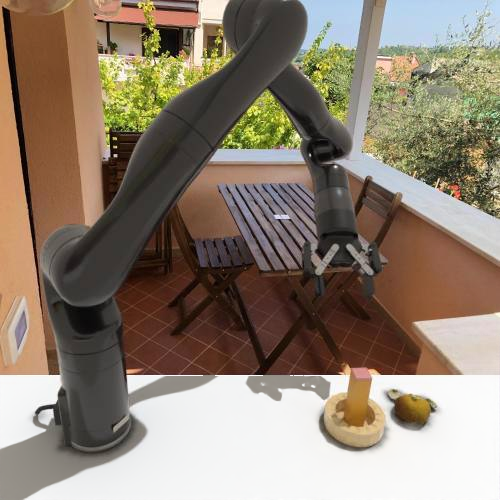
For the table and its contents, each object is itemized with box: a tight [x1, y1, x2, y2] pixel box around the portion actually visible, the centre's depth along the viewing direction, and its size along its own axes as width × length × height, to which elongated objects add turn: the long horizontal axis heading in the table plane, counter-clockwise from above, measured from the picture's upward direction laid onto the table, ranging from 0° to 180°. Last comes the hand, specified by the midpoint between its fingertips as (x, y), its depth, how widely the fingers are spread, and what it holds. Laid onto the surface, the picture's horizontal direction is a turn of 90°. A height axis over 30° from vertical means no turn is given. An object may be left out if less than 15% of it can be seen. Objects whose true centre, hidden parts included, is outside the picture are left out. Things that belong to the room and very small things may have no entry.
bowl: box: [323, 392, 386, 448], centre depth 71 cm, size 10×10×3 cm
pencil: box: [344, 367, 373, 427], centre depth 69 cm, size 3×3×10 cm
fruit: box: [387, 388, 438, 426], centre depth 74 cm, size 8×8×4 cm
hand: (345, 297), depth 75 cm, fingers open, 8 cm apart
